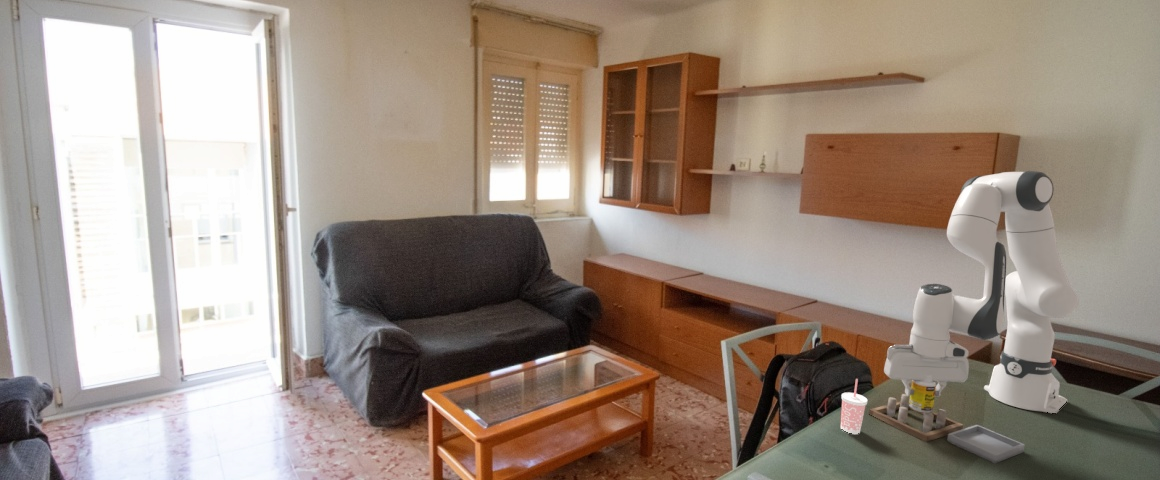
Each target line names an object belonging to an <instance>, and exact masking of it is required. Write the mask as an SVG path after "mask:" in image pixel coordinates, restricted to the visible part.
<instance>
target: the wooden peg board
mask: <svg viewBox="0 0 1160 480" xmlns="http://www.w3.org/2000/svg"><path fill="white" fill-rule="evenodd" d="M909 401H910V395H907V394H905V393H902V394H901V397H900V400H899V401H898V400H897V398H895V397H888V402H887V404H884V405H881V406H878V407H877V406H876V407H873V408H870V409H868V415H869V414H870V415H869V416H871V415H872V416H871V417H873V416H874V417H873V418H875V417H876V418H875V419H877V418H878V420H879V419H880V420H879V421H882V422H883V421H884V422H883V423H886V424H888V425H890V426H892V427H895V428H896V429H899V430H901V431H902V432H904V433H907V434H908V435H910V436H913V437H915V438H916V439H917V438H918V439H920V440H921V441H923V442H930V441H933V440H936V439H939V438H943V437H945V436H948V434H950V433H953V432H956V431H959V430H962V429H964V424H962V423H960V422H958V421H957V420H953V419H951V418H949V417H947V414H948V411H947V410H946V409H941V408H938V409H937V412H935V411H934V409H933V410H932V411H931V412H928V413H924V412H919V411H916V410H914V409H912V408H911V407H910V406H909ZM934 406H935V403H934V404H933V408H934ZM896 410H897V411H898V413H897V414H898V415H897V419H895V414H896ZM909 410H911V411H914V412H915V413H918V414H920V415H922V418H923V422H922V424H923V425H922V429H921V430H919V429H918V428H917V429H916V428H915V427H912V426H910V425H908V424H907V420H908V419H907V418H908V414H909ZM934 421H935V425H934V426H935V427H934V428H935V430H934V429H933V422H934Z"/></svg>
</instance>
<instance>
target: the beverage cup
mask: <svg viewBox="0 0 1160 480" xmlns="http://www.w3.org/2000/svg"><path fill="white" fill-rule="evenodd" d="M858 382H859V378H855V384H854V392H843V393H841V395H840V396H841V412H840V413H841V415H840V430H841V429H843V430H844V431H846V432H848V433H847V434H849V433H852V434H851V435H859V434H860V433H861V430H862V429H861V428H862V425H863V419H864V415H865V410H866V406H867V405H868V400H869V399H867V397H866V396H864V395H862V394H858V393H857V390H858V389H857V388H858ZM843 430H842V431H843ZM844 431H843V432H844ZM846 432H845V433H846ZM858 433H859V434H858Z"/></svg>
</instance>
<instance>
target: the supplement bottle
mask: <svg viewBox="0 0 1160 480" xmlns="http://www.w3.org/2000/svg"><path fill="white" fill-rule="evenodd" d="M936 386H937V381H932V376H930V375H927V376H926V379H925V380H924V381H923V380H911V386H910V387H912V388H913V389H914V395H909V396H910V399H909V406H910V407H911V408H912V409H914V410H916V411H919V412H924V413H928V412H931V411H932V410H933V411H934V407H933V404H934V405H935V397H936V396H935V390H936ZM916 411H915V412H916Z"/></svg>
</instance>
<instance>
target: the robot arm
mask: <svg viewBox="0 0 1160 480" xmlns="http://www.w3.org/2000/svg"><path fill="white" fill-rule="evenodd" d="M1053 195H1054V184H1053V181H1052V179H1051V178H1050V177H1049V175H1047V174H1046V173H1044V172H1042V171H1035V170H1026V171H1006V172H1005V171H1004V172H1003V171H1002V172H1000V173H994V174H988V175H977V176H974V177H972V178H969V179H968V180H966V181H965V183H963V185H962V187H961V190H960V194H959V196H958V198H957V199H956V202H955V204H954V207H953V208H952V211H951V213H950V217H949V220H948V224H947V228H946V237H947V239H948V242H949V243H950V245H952V247H953V248H955V249H956V250H957V251H959V252H960V253H962V254H964V255H965V256H967V257H969V258H972V259H973V260H975V261H977V262H979V263H980V264H982V265H983V268H984V272H985V273H984V282H983V294H982V298H980V299H977V298H971V297H966V296H961V295H957V294H954V291H953V288H951V287H950V286H948V285H945V284H939V283H927V284H923V285H921V286H920V287H919V289H918V291H917V295H916V298H915V302H914V304H913V305H914V306H913V311H912V319H913V325H912V327H911V329H910V336H909V344H899V343H898V344H897V343H895V344H893V345H891V346H889V347H888V348H887V351H886V352H887V353H886V359H885V362H884V368H883V372H884V374H885V375H886V376H887V378H890V379H891V380H901V382H902V383H903V386H904V387H905V388H904V394H907V395H909V396H910V395H914V389H913V388H912V387H911V386H910V384H911V385H912V380H923V381H924V380H925V379H926V376H927V375H930V376H932V381H935V382H936V390H935V397H941V394H942V391H943V390H944V389H945V388H946V386H947V385H948V382H949V383H952V382H953V383H964V382H965V381H967V380H968V377H969V369H970V363H969V359H968V357H969V352H970V351H969V350H968V349H967V348H965V346H962V345H960V344H959V343H957V342H954V341H951V335H950V332H956V333H959V334H963V335H967V336H969V337H973V338H975V339H979V340H981V341H988V340H991V339H994V338H996V337H998V336H1000V335H1001V334H1002V332H1003V330H1004V328H1005V324H1006V323H1007V327H1006V336H1005V341H1004V348H1003V350H1002V351H1001V354H1000V356H999V357H1000V359H999V363H998V364H996V365H995V366H994V367H993V369H992V373H991V377H990V381H989V384H986V385H984V386H983V390H984V391H986V392H988V393H989V396H991V398H993V399H994V400H997V401H999V402H1001V403H1003V404H1005V405H1009V406H1011V407H1014V408H1015V407H1016V408H1019V409H1021V410H1022V409H1023V410H1028V411H1034V412H1041V413H1042V412H1043V413H1047V412H1048V413H1047V414H1052V413H1056V414H1057V413H1059V411H1060V410H1061V409H1062V408H1063V407H1064V406H1065V405H1066V404H1067V403H1066V401H1067V402H1068V399H1067V398H1066V397H1064V396H1062V395H1060V394H1059V391H1060V384H1061V383H1060V381H1059V380H1058V378H1056V377H1055V376H1054V374H1053V367H1055V366H1056V364H1057V359H1055V358H1052V353H1053V348H1054V343H1055V338H1056V335H1055V332H1054V329H1053V326H1052V323H1051V322H1052V321H1051V319H1052V318H1053V319H1062V318H1063V319H1064V318H1066V317H1069V316H1071V315H1072V314H1073V313H1074V312H1075V311H1076V310H1077V309H1078V306H1079V295H1077V292H1076V291H1075V290H1074V288H1073V286H1071V284H1070V282H1069V279H1068V276H1067V273H1066V271H1065V268H1064V266H1063V264H1062V261H1061V258H1060V254H1059V250H1058V245H1057V244H1058V243H1057V237H1056V236H1057V235H1056V229H1055V222H1054V217H1053V213H1052V210H1051V207H1050V202H1051V200H1052V198H1053ZM1001 213H1005V214H1004V224H1005V225H1004V226H1005V234H1006V239H1007V240H1006V241H1007V242H1006V243H1007V249H1008V256H1009V258H1010V260H1011V261H1012V263H1013V266H1014V267H1015V271H1012V272H1010V273H1009V274H1006V273H1007V252H1006V249H1005V245H1004V244H1002V243H1001V242H999V239H998V238H997V237H998V236H997V230H998V227H999V222H1000V217H1001ZM1005 304H1006V307H1005ZM1005 308H1006V315H1007V316H1006V319H1007V322H1006V321H1005ZM1005 322H1006V323H1005ZM1065 403H1066V404H1065ZM1064 404H1065V405H1064ZM1063 405H1064V406H1063ZM1062 406H1063V407H1062ZM1061 407H1062V408H1061ZM1060 408H1061V409H1060ZM1059 409H1060V410H1059Z"/></svg>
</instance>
